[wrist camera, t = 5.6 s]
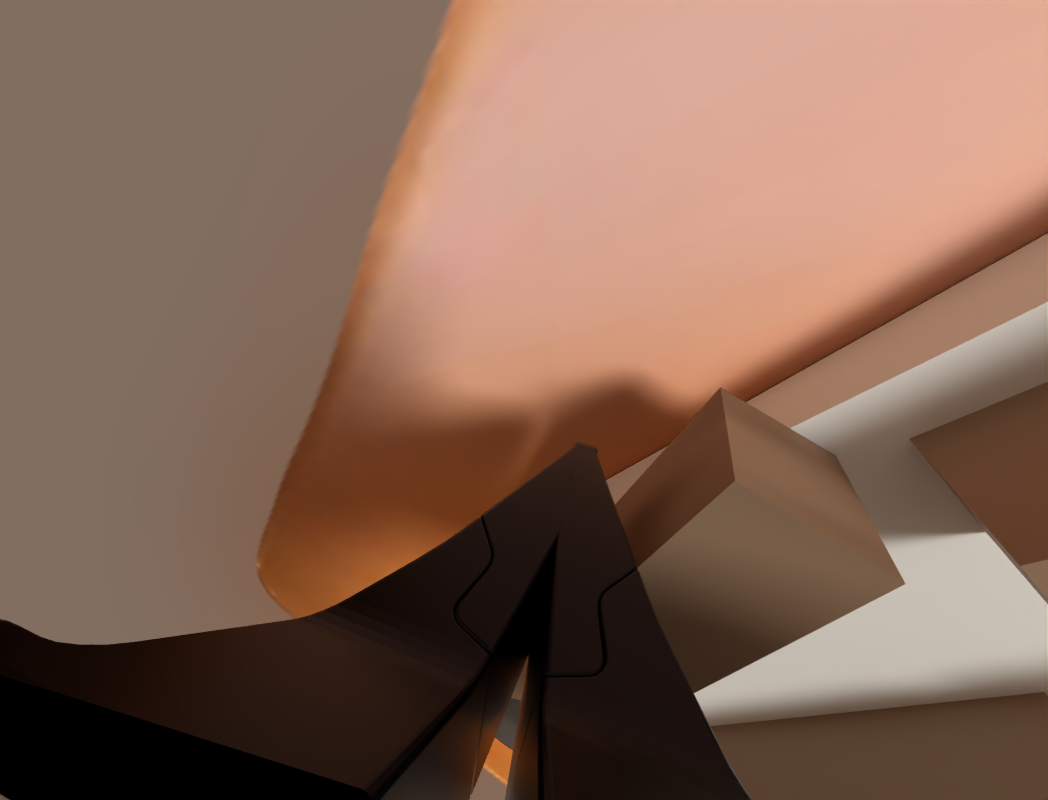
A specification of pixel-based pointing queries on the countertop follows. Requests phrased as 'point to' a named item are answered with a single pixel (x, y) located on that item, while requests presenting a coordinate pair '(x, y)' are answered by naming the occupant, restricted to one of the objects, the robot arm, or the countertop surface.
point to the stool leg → (744, 543)
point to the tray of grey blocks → (919, 563)
